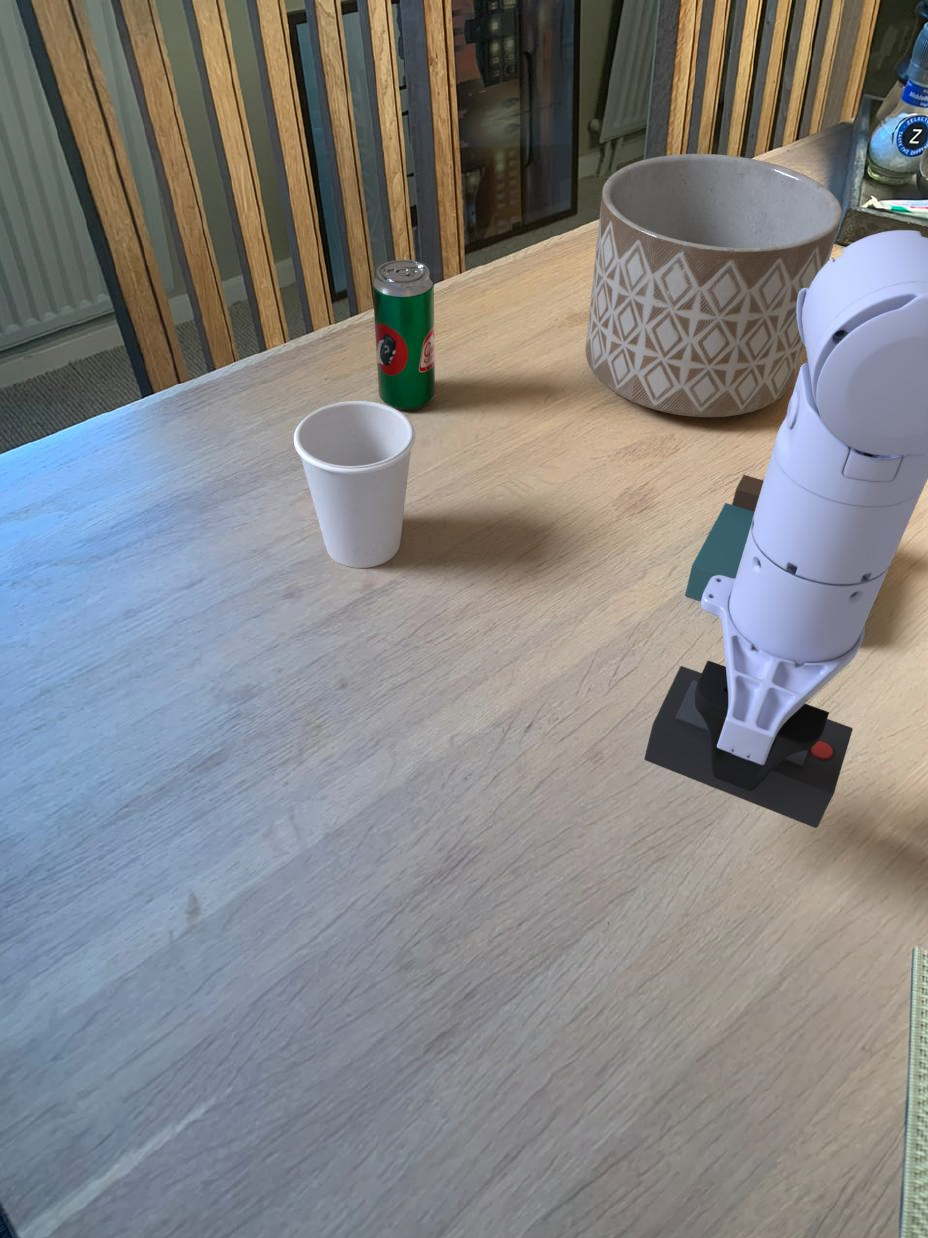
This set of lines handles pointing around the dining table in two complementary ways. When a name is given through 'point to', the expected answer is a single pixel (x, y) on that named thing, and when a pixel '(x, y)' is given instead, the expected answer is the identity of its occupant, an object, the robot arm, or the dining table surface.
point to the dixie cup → (357, 477)
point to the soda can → (404, 334)
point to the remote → (789, 787)
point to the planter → (705, 281)
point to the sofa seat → (725, 539)
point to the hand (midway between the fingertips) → (747, 742)
